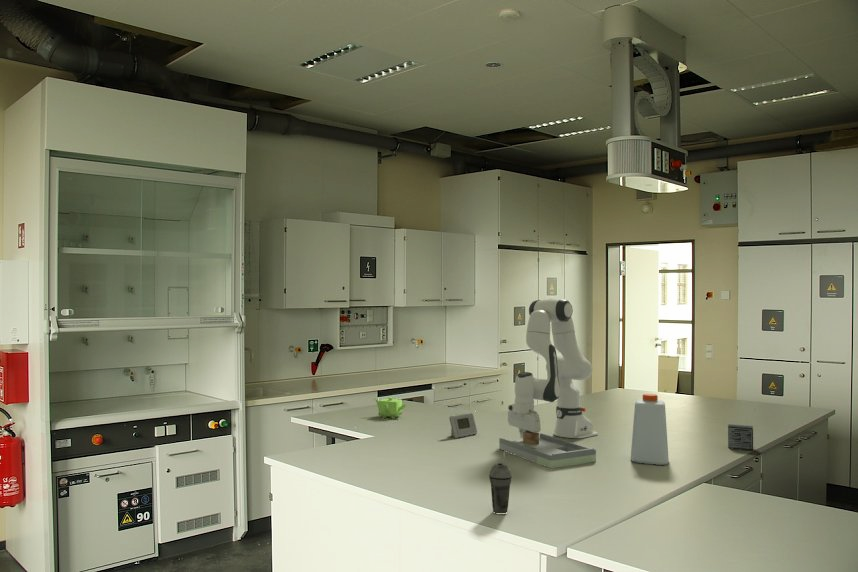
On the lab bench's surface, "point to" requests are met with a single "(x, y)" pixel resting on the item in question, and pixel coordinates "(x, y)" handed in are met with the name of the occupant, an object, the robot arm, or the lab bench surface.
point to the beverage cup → (500, 486)
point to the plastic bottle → (649, 431)
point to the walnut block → (530, 438)
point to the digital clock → (462, 425)
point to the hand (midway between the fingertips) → (523, 438)
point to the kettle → (390, 407)
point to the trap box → (550, 451)
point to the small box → (740, 437)
